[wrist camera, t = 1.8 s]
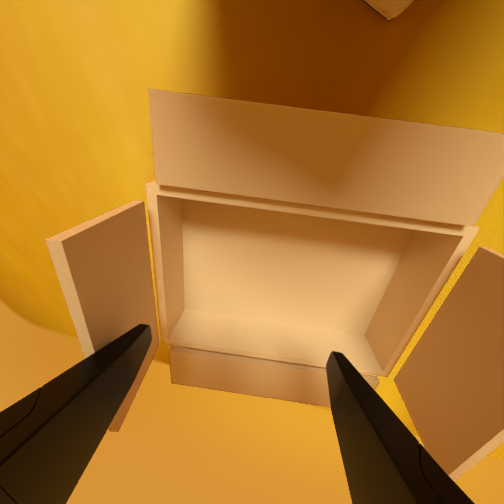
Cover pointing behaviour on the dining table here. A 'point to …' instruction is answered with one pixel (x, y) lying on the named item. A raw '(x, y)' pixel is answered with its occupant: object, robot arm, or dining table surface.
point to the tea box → (389, 7)
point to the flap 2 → (461, 370)
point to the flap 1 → (108, 283)
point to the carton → (303, 237)
